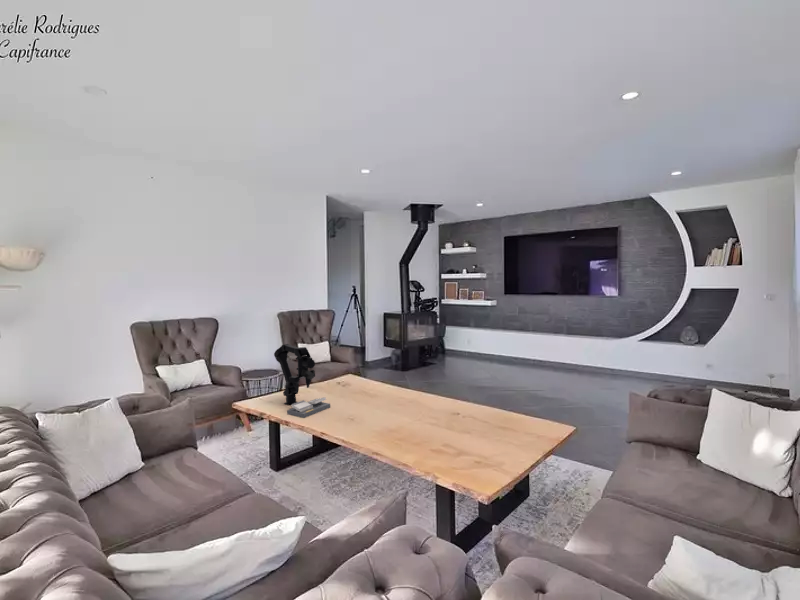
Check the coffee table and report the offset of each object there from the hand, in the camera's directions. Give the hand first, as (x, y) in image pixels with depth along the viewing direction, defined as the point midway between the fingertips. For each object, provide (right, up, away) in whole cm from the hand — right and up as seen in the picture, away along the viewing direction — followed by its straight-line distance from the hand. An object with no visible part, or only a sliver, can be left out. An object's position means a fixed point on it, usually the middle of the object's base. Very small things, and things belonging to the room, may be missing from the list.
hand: (302, 389), depth 271 cm
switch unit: (+6, -12, -7) cm, 15 cm away
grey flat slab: (+3, -8, -12) cm, 15 cm away
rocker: (+9, -7, -2) cm, 12 cm away
